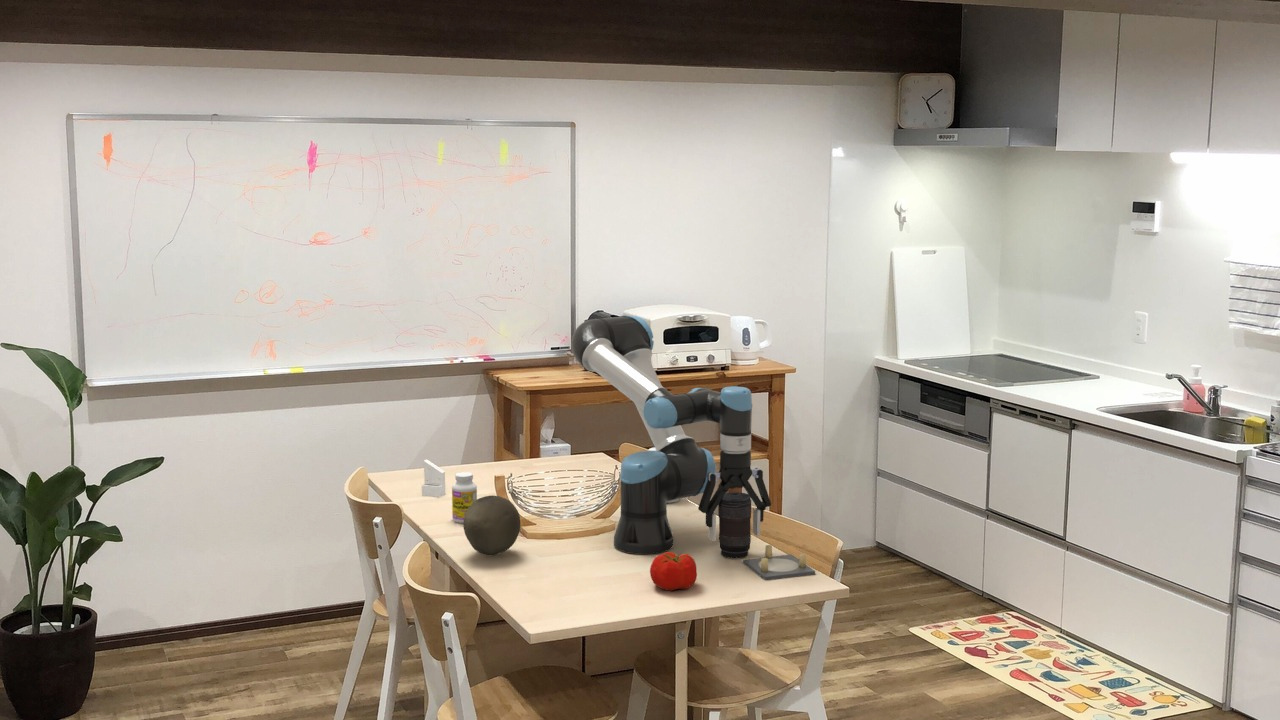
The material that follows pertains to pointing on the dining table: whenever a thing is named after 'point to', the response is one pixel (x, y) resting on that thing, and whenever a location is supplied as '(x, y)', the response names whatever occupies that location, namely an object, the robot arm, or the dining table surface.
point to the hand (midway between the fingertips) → (734, 536)
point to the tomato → (673, 571)
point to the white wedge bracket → (433, 480)
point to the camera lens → (734, 525)
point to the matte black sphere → (491, 525)
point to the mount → (779, 565)
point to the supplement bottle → (462, 495)
